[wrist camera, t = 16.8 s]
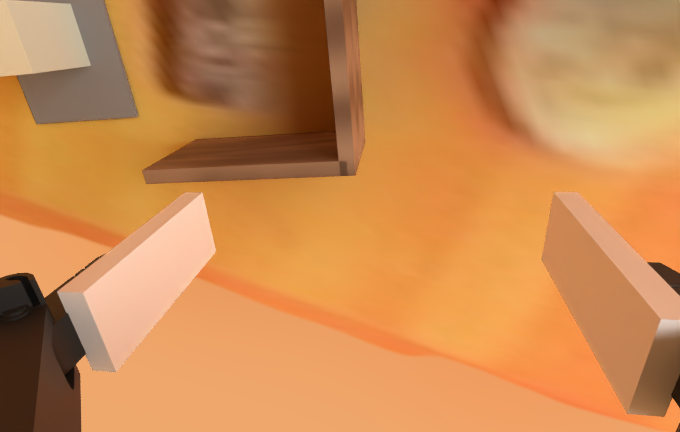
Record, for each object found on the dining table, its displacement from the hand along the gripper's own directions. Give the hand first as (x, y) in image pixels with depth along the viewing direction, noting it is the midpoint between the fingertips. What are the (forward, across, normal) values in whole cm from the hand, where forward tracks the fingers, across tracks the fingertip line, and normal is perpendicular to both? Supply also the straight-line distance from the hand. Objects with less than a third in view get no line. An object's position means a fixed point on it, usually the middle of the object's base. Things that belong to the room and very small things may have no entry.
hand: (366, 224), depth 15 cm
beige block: (+24, -32, +8) cm, 41 cm away
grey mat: (+25, -32, +8) cm, 42 cm away
